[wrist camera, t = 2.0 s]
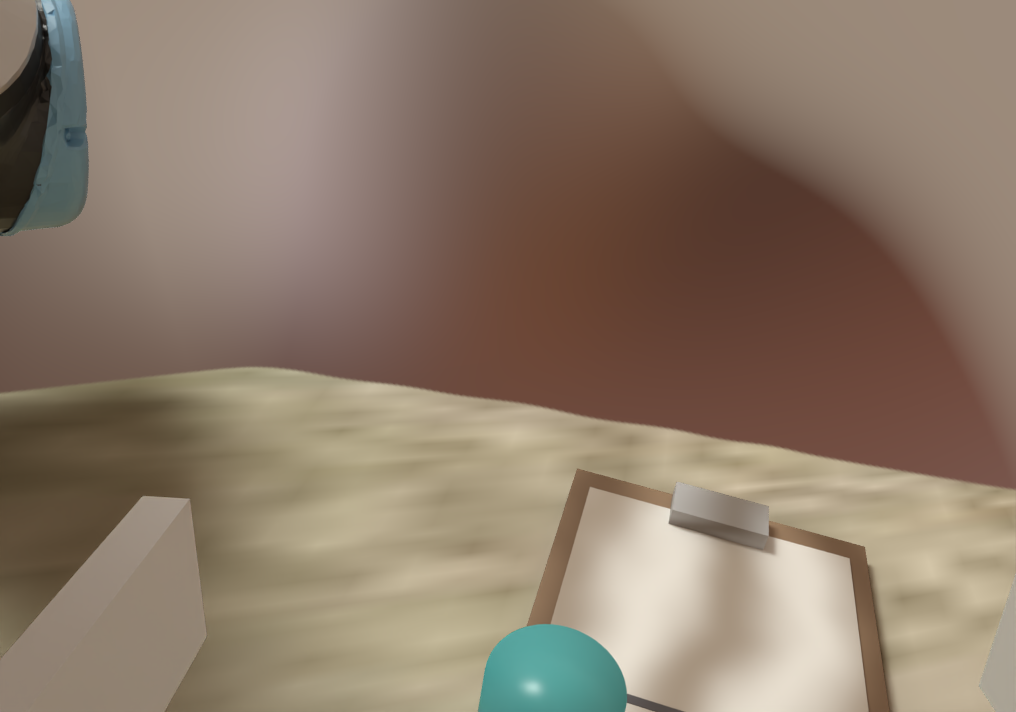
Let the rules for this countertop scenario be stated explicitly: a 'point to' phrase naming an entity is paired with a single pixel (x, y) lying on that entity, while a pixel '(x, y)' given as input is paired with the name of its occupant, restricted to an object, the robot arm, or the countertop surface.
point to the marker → (551, 673)
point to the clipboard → (713, 602)
